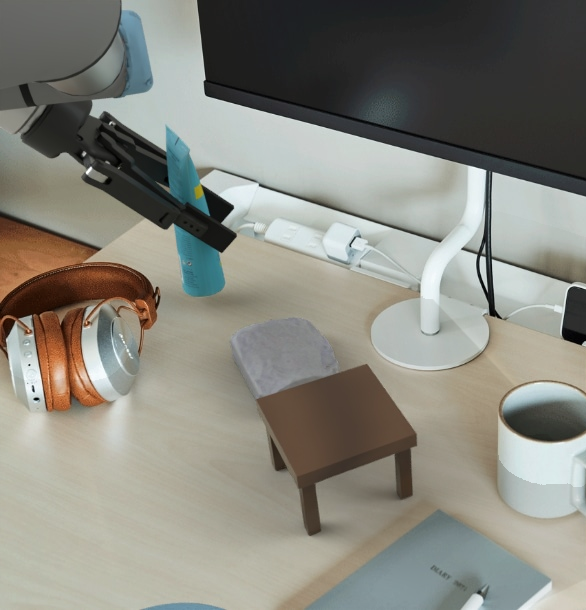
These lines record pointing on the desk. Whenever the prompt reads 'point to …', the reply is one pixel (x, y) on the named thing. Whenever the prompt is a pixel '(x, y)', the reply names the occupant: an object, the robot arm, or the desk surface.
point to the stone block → (282, 355)
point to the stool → (336, 433)
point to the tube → (191, 251)
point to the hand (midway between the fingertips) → (227, 228)
